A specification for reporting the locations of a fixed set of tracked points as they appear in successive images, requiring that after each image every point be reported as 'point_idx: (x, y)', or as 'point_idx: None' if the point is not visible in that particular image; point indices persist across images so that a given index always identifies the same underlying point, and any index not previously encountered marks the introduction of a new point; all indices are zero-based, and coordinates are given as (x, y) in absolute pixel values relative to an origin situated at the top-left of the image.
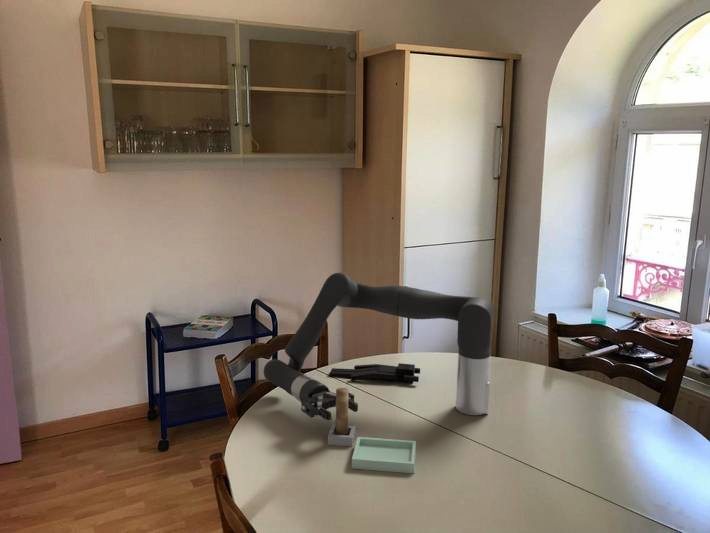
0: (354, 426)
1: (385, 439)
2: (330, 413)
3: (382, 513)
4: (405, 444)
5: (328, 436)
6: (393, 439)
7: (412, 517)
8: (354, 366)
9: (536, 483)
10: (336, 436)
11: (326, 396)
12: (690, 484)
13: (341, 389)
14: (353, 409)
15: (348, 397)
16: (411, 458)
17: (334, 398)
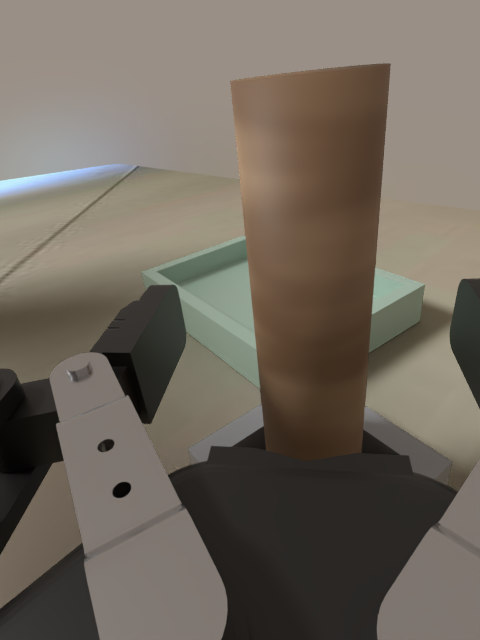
0: (197, 449)
1: (202, 308)
2: (470, 279)
3: (439, 220)
4: None
5: (448, 461)
6: (181, 298)
7: (385, 207)
8: None
9: (130, 203)
10: (393, 425)
11: (247, 635)
12: (31, 178)
13: (301, 74)
14: (176, 345)
15: (73, 364)
16: (244, 239)
17: (190, 471)
